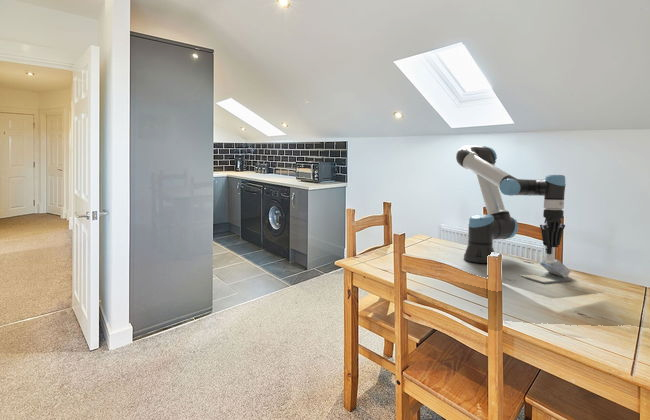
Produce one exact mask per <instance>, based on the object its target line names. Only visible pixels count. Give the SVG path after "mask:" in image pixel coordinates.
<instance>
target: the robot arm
mask: <svg viewBox="0 0 650 420" xmlns="http://www.w3.org/2000/svg"><path fill="white" fill-rule="evenodd" d="M497 156H498V155H497V152H496V150H494V149H493V148H492V147H489V146H485V145H482V146H481V145H480V146H479V145H464V146H462V147H461V148H459V149H458V151H457V152H456V156H455V159H456V162H457V164H458V165H459V166H461V167H462V168H464V169H466V170H471V171H472V173H473V174H475V175H476V177H477V180H478V184H479V187H480V191H481V194H482V198H483V201H484V205H485V208H486V211H487V214H476V215H472V216H470V217H469V219H468V220H469V221H468V234H467V235H468V239H467V247H466V249H465V252H464V254H463V259H464V260H465V261H468V262H471V263H481V264H488V263H487V256H488V255H490V254H491V252H494V253H495V250H494V246H493V243H494V240H507V239H509V240H510V239H512V238H513V237H514V236H516V235H517V232H518V230H519V222H518V221H517V219H516V218H515V217H513V216H511V213H510V211H509V210H507V209H506V208H505V205H504V201H503V199H502V195H501V194H503V195H505V196H509V197H510V196H530V197H531V196H533V197H535V196H536V197H537V196H539V197H542V196H543V197H544V200H543V214H542V215H543V218H544V223H543V224H539V228H540V229H541V230H540V231H541V237H542V245H543V246H545V247H546V257H547V261H551V262H554V261H555V259H556V248H559V246H560V245H561V241H562V237H563V233H564V229H565V227H566V224H563V223H562V219H563V218H564V211H565V210H563V209H565V191H566V187H567V186H566V185H567V184H566V175H563V174H547V175H546V176H545V178H544V179H523V178H522V179H521V178H517V177H515V176H512V175H511V174H509V173H507V172H506V171H504V170H502V169H500V168H499V167H497V166H496V165H495V164H496V163H497V158H498V157H497Z"/></svg>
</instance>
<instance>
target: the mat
mask: <svg viewBox="0 0 650 420" xmlns="http://www.w3.org/2000/svg"><path fill="white" fill-rule="evenodd" d="M519 277H522V278H524V279H525V280H529V281H532V282H536V283H539V284H543V285H551V284H557V283H559V284H560V283H568V282H569V283H570V282H572V281H573V280H572V279H568V278H567V277H566V278H564V277H561V276H551V275H550V276H549V275H547V276H546V275H545V276H544V275H535V274H519Z"/></svg>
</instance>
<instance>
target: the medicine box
mask: <svg viewBox="0 0 650 420" xmlns="http://www.w3.org/2000/svg"><path fill="white" fill-rule="evenodd" d="M540 266H542V268H544V269H545V270H546V272H548V273H551V274H553V275H556V276H557V277H562V278H566V279H567V278H568V276H569V275H570V273H571V272H572V271H571V270H570V269H569V268H568V267H567V266H566V265H565V264H564V263H563V262H562V261H560V260H559V259H556V258H555V261H554V262H551V261H547V256H545V257H544V258H543V259H542V261H541V262H540Z"/></svg>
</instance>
